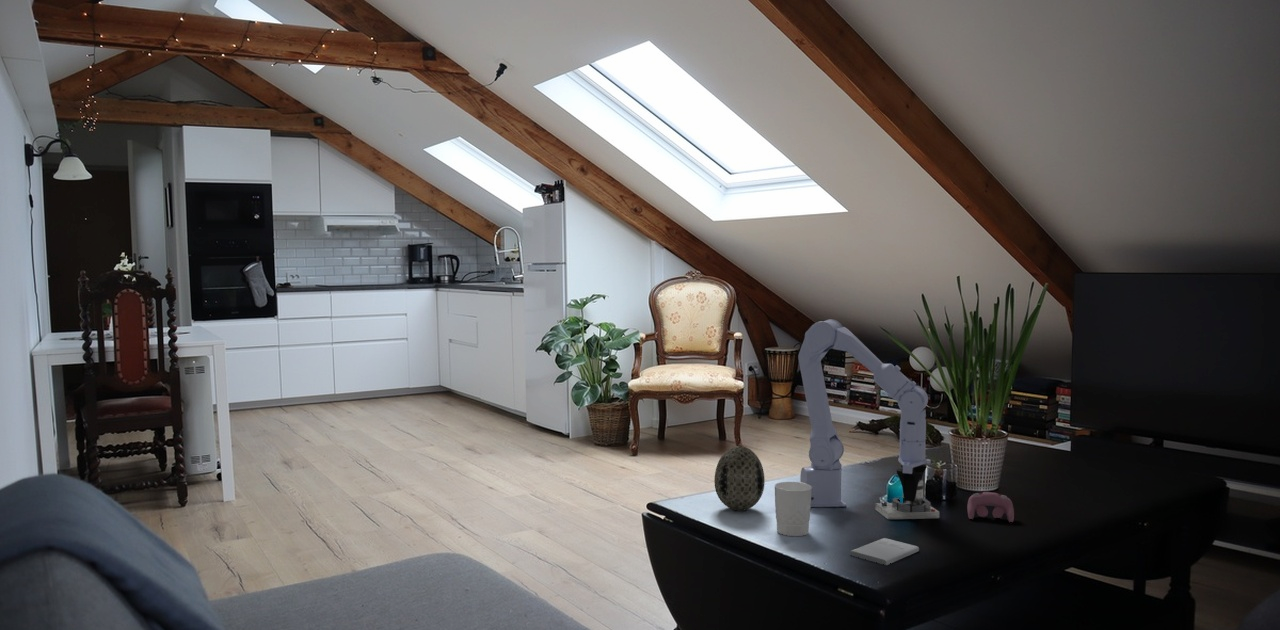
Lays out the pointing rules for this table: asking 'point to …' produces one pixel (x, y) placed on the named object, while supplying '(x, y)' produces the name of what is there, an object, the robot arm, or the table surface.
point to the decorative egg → (739, 478)
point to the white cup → (793, 508)
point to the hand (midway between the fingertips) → (911, 498)
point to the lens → (917, 495)
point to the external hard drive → (884, 551)
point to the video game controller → (990, 499)
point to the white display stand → (906, 510)
